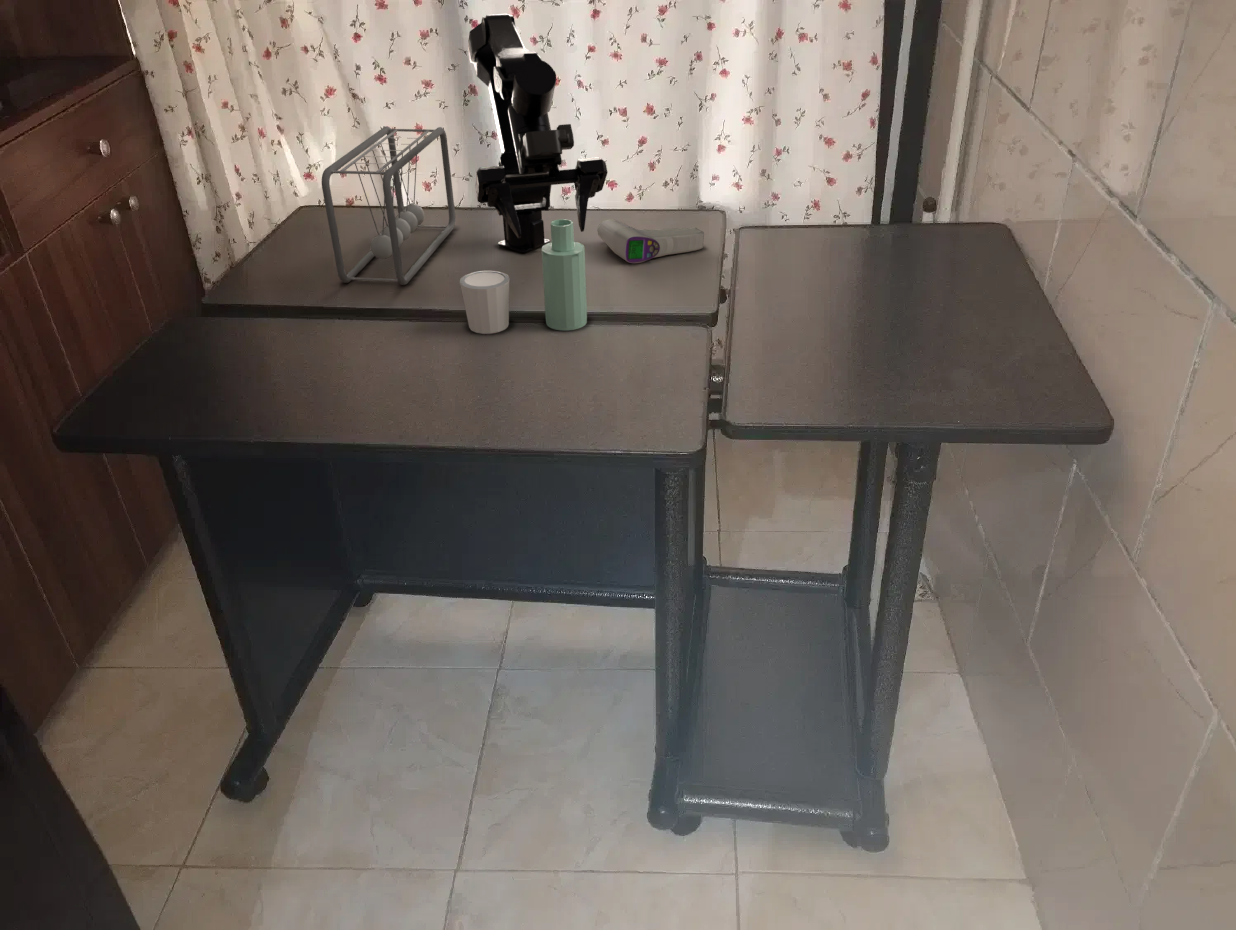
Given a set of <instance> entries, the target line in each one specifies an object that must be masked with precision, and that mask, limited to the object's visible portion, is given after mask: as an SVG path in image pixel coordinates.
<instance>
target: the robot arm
mask: <svg viewBox="0 0 1236 930" xmlns="http://www.w3.org/2000/svg"><path fill="white" fill-rule="evenodd" d="M467 39H468V41H467V52H468V58H469V59H468V60H469V62H470V63H471V64H473V66H474V70H475V75H476V78H478V79H479V80H480V81H481V82H482V83H483V84H484V85H485V86H486V87H488V92H489V98H490V102H491V106H492V111H493V116H494V121H495V122H494V123H495V126H496V132H497V136H498V142H499V146H500V151H501V155H500V157H499V161H498V165H492V166H481V167H479V168H477V171H476V172H475V185H474V187H475V194H476V200H477V203H479V204H486V205H487V207H488V208H494V209H495V210H496V212H497V214H498V216H502V225H503V226H502V227H503V237H504V238H503V239H504V240H500V241H498V243H497V246H499V247H502V248H505V249H508V250H512V251H516V252H519V253H522V254H526V253H527V254H528V253H529V252H531V251H534V250H538V249H539V248H542V247H543V245H545V244H547V243H550V242H551V240H550V239H548V238H545V224H544V223H545V222H544V220H543V212H544V211H545V212H547V211H549V210H550V208H551V193H552V186H556V185H557V186H558V185H565V184H566V185H567V184H568V185H569V184H574V190H575V195H574V199H575V207H576V215H577V221H578V223H577V224H578V228H579V230H580V232H581V233H583V232H584V231H585V226H586V220H587V212H588V203H589V199H592V198H594V197H595V196H596V193H599V192H601V191H603V189H604V185H605V182H606V179H607V176H608V168H607V163H606V161H605V160H604V159H603V158H601V157H600V156H597V157H587V158H585V157H584V158H577V161H576V165H575V168H570V169H560V167H559V166H562V161H563V159H562V155H563V151H566V150H572V149H573V147H574V146H575V139H574V138H575V137H574V132H573V128H572V123H565V124H564V123H563V124H558V125H557V126H556V129H552V127H551V122H550V117H549V112H550V111H551V109H552V105H553V99H554V94H555V88H556V83H557V73H556V71H555V70H554V68H553V67H552V66H551V65H550V64H549V63H548V62H547V61H545V60H542V58H541V56H540V55H539V54H538V52H536V51H535V50H530V49H527V48H526V47H525V45H524V43H523V41H522V39H521V33H520V28H519V27H518V26H517V25H516V20H515V17H514V15H511V14H509V13H498V14H497V13H496V14H486V15H485V16H482V17H481V22H480V23H479V24H478V25H475V27H473V28H472V29H471V30H469V33H468V38H467Z"/></svg>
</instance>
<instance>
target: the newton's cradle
mask: <svg viewBox="0 0 1236 930" xmlns="http://www.w3.org/2000/svg"><path fill="white" fill-rule="evenodd" d="M397 132H408V133H409V132H411V133H413V132H414V133H421V134H420V135H419V136H418V137H408V139H410V140H411V139H412V140H413V139H414V140H413V141H412V142H411V143H402V145H403V146H404V145H407V146H406V147H404V148H403V149H397V145H396V140H395V139H396V138H395V133H397ZM428 133H429V134H428ZM427 134H428V135H427ZM426 135H427V136H426ZM424 137H425V138H424ZM438 137H439V139H440V148H441V150H440V151H441V157H442V167H443V175H444V176H443V177H444V186H445V193H446V201H447V211H448V223H447V225H429V224H428V225H427V224H426V225H425V224H424V225H423V222H424V220H425V210H424V209H423V208H422V206H420V205H419V204H416V203H415V199H416V183H417V163H418V155H419V154H420V153H421V152H422V151H424V150H425V149H426V148H427V147H428V146H429V145H430V144H431V143H432V142H434V141H435V140H436V139H437V138H438ZM421 139H422V140H421ZM386 140H387V145H388V149H384V147H383V143H385V141H386ZM420 140H421V141H420ZM419 141H420V142H419ZM415 144H416V145H415ZM414 145H415V146H414ZM378 146H380V147H381V151H382V153H383V156H382V155H381V156H377V155H376V154H375V149H376V148H377V147H378ZM413 146H414V147H413ZM386 151H388V152H389V159H390V160H388V159H387V156H386V153H385V152H386ZM370 152H372V154H373V155H368V154H369V153H370ZM397 152H398V153H397ZM404 153H405V154H404ZM399 157H401V158H399ZM362 158H363V159H364V162H358V161H360V160H361V159H362ZM366 158H374V161H375V162H367V159H366ZM377 158H384V159H385V162H386V163H383V162H382V163H380V162H379V163H378V160H377ZM398 158H399V159H398ZM414 158H415V168H414V187H413V189H414V190H413V202H410V198H409V186H410V185H409V184H410V168H411V167H410V166H411V165H410V164H411V161H412V160H413V159H414ZM359 164H360V165H361V164H364V165H366V168H367V170H368V171H367V170H359V169H358V166H357V165H359ZM407 164H408V173H407V189H406V185H405V183H404V179H403V167H405V166H406V165H407ZM353 165H354V166H355V168H356V170H348V169H349V168H350V167H352V166H353ZM369 165H377V169H378V170H376V171H373V170H371V171H370V168H369ZM379 165H382V166H381V167H380V166H379ZM390 165H391V166H390ZM384 170H385V171H384ZM333 174H341V175H343V174H345V175H346V174H347V175H348V174H349V175H358V178H359V181H360V184H361V186H362V191H363V193H364V196H365V200H366V202H367V205H368V208H369V211H370V215H371V217H372V220H373V223H374V227H375V229H376V230H375V231H376V233H377V235H376V236H374V237H373V238H372V239H371V242H370V245H369V246H370V250H369V251H368V252H367V253H366V254H365V255H364V256H363V257H362V258H361V259H360V260H359V261H358V262H357V263H356V264H355V265H354V266H353V267H352V268H351V269H349V271H348V272H347V273H346V269H345V264H344V259H343V252H342V247H341V242H340V236H339V230H338V224H337V219H336V214H335V208H334V202H333V197H332V191H331V185H330V179H331V176H332V175H333ZM361 175H369V177H370V180H371V182H372V185H373V188H374V192H375V195H376V198H377V201H378V203H379V207H380V209H381V212H382V229H381V230H380V233H379V230H378V227H377V224H376V221H375V217H374V215H373V212H372V209H371V205H370V202H369V200H368V196H367V193H366V189H365V187H364V184H363V181H362V179H361V178H362V177H361ZM372 175H379V176H380V178H381V181H382V191H383V206H382V204H381V201H380V198H379V195H378V192H377V189H376V186H375V183H374V180H373V177H372ZM391 181H392V183H391ZM452 181H453V180H452V173H451V164H450V154H449V144H448V138H447V133H446V130H445V128H443V127H442V126H438V127H436V128H435V129H431V128H429V129H427V128H426V129H422V128H421V129H420V128H391V127H390V126H388V125H386V126H383V127H381V128H380V129H379V130H378V131H376V132H375V133H373V134H372V135H371V136H369V137H368V138H366V139H365V140H364V141H362V142H361V143H360V144H358V145H357V146H355V147H354V148H352V149H351V150H350V151H349V152H346V153H345V154H344V155H342V156H341V157H340V158H339V159H337V160H336V161H334V162H333V163H331V164H330V165H329V166H327V167H326V168H325V169H324V170H323V172H322V174H321V190H322V195H323V200H324V207H325V212H326V217H327V222H328V229H329V234H330V240H331V244H332V249H333V255H334V260H335V266H336V271H337V275H338V278H339V280H340V281H341V283H344V284H348V283H350V282H351V281H367V282H368V281H370V282H392V283H393V282H394V283H395V282H396V283H398V284H399V285H401V286H406V285H407V284H408V283H409V282H410V281H411V280H412V278H413V277H414V276H416V274H417V273H418V272H419V270H420V269H421V268H422V267H423V265H424V264H425V263H426V262H427V261H428V259H429V258H431V256H432V255H433V253H435V252H436V251H437V249H439V247H440V246H441V244H442V243H443V242H444V241H445V239H447V237H448V236H449V235H450V234H451V232H452V231H453V230H454V228H455V226H456V210H455V200H454V191H453V182H452ZM402 185H403V188H404V191H405V195H406V206H405V205H404V197H403V189H402ZM394 193H395V194H394ZM394 195H395V199H396V206H397V215H396V214H395V207H394ZM385 211H386V216H385ZM386 217H387V219H386ZM385 224H386V227H385ZM417 228H421V229H422V228H423V229H425V228H426V229H443V230H442V231H441V232H440V233H439V234H438V236H437V237H436V238H435V239H434V240H433V241H432V243H430V245H429V246H428V247H427V248H426V250H425V251H424V252H423V253H422V254H421V256H419V258H418V259H417V260H416V261H415V263H414V264H412V266H411V267H410V268H409V269H408V271H407V272H406V273H405V274H404V269H403V264H402V256H401V250H400V249H401V248H400V247H401V246H402V244H403V242H405V241H407V240H408V239H409V237H410V235H411V234H412V233H414V232H415V231H416V230H417ZM391 256H392V257H393V258H392V259H393V264H394V273H395V278H380V277H379V278H378V277H377V278H376V277H356V276H357V275H358V274H359V273H360V272H361V271H362V270H363V269H364V268H365V267H366V266H367V265H368V264H369V263H370V262H371V261H372V259H373V258H377V259H380V260H385V259H386V260H387V259H389V258H390V257H391Z"/></svg>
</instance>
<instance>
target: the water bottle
mask: <svg viewBox="0 0 1236 930" xmlns="http://www.w3.org/2000/svg"><path fill="white" fill-rule="evenodd" d="M574 233H575V232H574V221H573V220H570V219H565V218H561V219H560V218H558V219H554V220H552V221H550V239H551V240H550V243H547V244H545V245H543V246H542V247H540V248H541V250H540V251H541V266H542V283H543V298H544V299H543V301H544V317H545V324H546V326H547V327H548V328H550V329H552V330H556V331H561V332H563V331H564V332H566V331H575V330H579V329H581V328H583V327H585V326H586V325H587V323H588V308H587V302H588V301H587V279H586V278H587V274H586V249H585V246H584V244H583V243H580V242H579V241H575V236H574Z"/></svg>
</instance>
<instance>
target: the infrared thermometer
mask: <svg viewBox="0 0 1236 930" xmlns="http://www.w3.org/2000/svg"><path fill="white" fill-rule="evenodd" d="M597 235H598V236H599V238H600V239H601V240H602V241H603V242H604V243H605V244H606V245H607V246H608V248H609V249H610V250H611V251H612V252H613V253H614V254H615V255H617V256H618V257H620V258H621V259H623V260H625V261H626V262H627V263H629V264H641V263H644V262H647V261H650V260H651V259H655V258H659V257H664V256H668V255H675V254H683V253H689V252H695V251H698V250H701V249H703V248H704V242H705V241H704V240H705V232H704V231H703V230H701V229H699V228H697V227H688V228H658V229H655V228H654V229H653V228H652V229H647V228H645V229H644V228H643V229H639V228H635V227H633V226H631V225H628V224H626V223H623V222H622V221H619V220H617V219H606V220H603V221H601V223H600V224H599V225H598V226H597Z"/></svg>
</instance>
